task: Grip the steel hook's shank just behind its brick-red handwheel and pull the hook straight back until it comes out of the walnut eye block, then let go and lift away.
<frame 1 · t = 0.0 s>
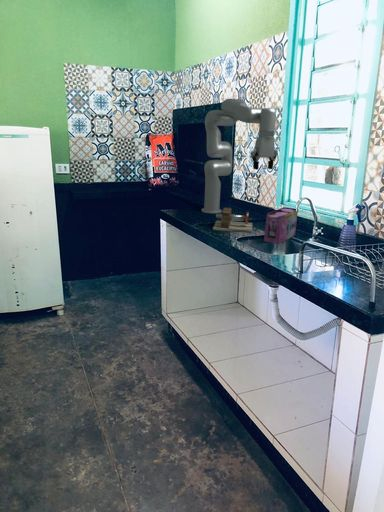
hand: (262, 169, 209), 31 cm above the countertop, tool pointing down, fingers open, 9 cm apart
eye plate: (233, 227, 218), on the countertop
gum box: (279, 238, 201), on the countertop
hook: (233, 217, 217), point 5 cm above the countertop, slide at 0.0 cm
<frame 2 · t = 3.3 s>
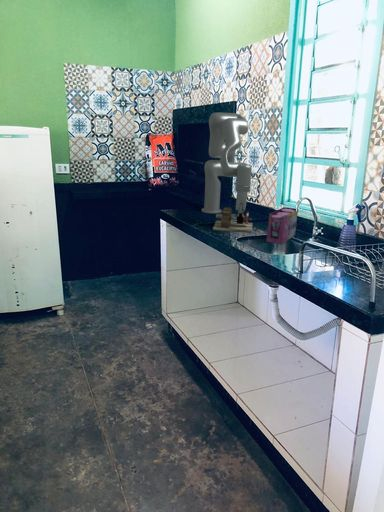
hand: (240, 222, 217), 3 cm above the countertop, tool pointing down, fingers closed on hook, 2 cm apart
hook: (233, 217, 217), point 5 cm above the countertop, slide at 0.0 cm, touching gripper
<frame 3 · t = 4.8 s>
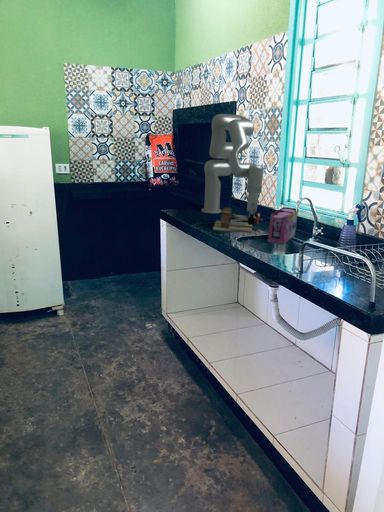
hand: (251, 223, 216), 3 cm above the countertop, tool pointing down, fingers closed on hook, 2 cm apart
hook: (244, 218, 216), point 5 cm above the countertop, slide at 5.9 cm, touching gripper
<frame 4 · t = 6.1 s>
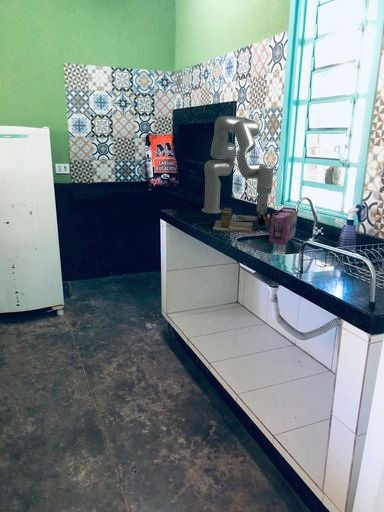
hand: (260, 224, 216), 3 cm above the countertop, tool pointing down, fingers closed on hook, 2 cm apart
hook: (254, 218, 215), point 5 cm above the countertop, slide at 10.9 cm, touching gripper
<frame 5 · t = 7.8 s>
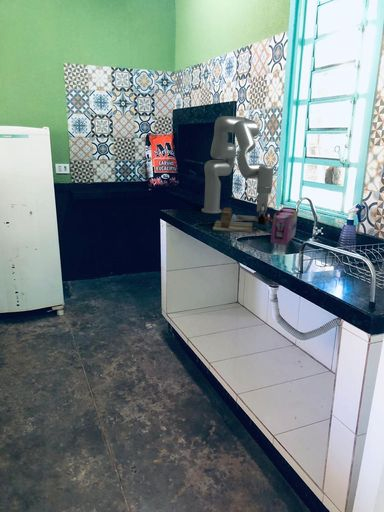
hand: (261, 222, 215), 4 cm above the countertop, tool pointing down, fingers open, 9 cm apart
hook: (254, 218, 215), point 5 cm above the countertop, slide at 11.0 cm
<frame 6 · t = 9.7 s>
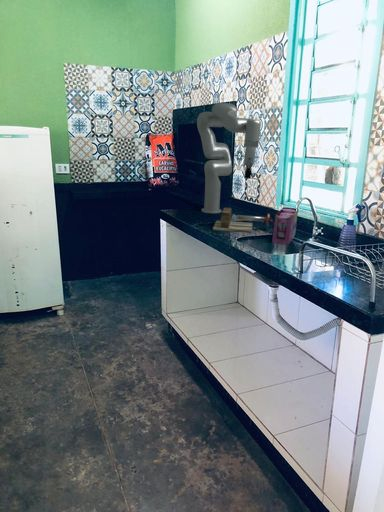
hand: (247, 176, 220), 26 cm above the countertop, tool pointing down, fingers open, 9 cm apart
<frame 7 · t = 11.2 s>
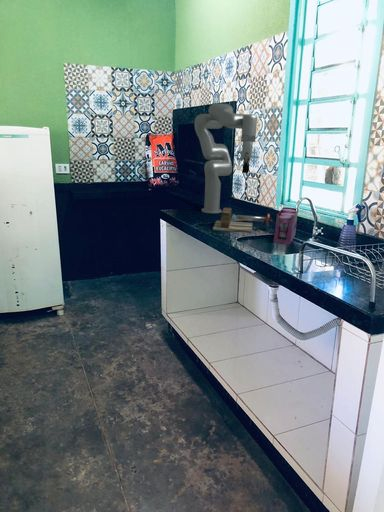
hand: (245, 171, 220), 28 cm above the countertop, tool pointing down, fingers open, 9 cm apart
at the end: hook slide at 11.0 cm; the gripper is holding nothing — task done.
